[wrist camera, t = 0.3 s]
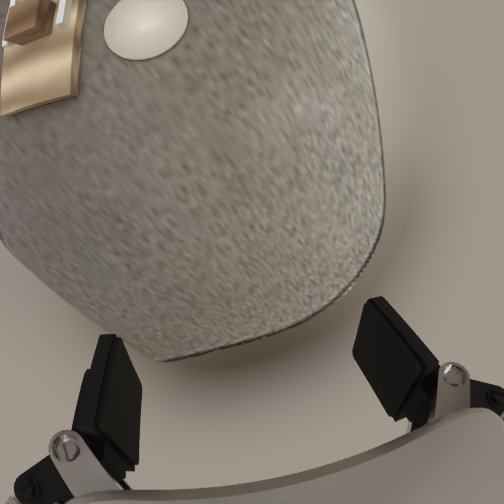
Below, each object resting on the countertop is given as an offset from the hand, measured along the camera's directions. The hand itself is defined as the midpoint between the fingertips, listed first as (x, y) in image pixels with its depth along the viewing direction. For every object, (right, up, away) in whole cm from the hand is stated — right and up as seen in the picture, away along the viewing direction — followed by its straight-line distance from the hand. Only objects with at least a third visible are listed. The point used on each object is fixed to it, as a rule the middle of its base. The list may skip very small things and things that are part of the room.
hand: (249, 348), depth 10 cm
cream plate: (-13, +33, +16) cm, 39 cm away
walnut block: (-27, +33, +9) cm, 44 cm away
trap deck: (-28, +35, +11) cm, 46 cm away
